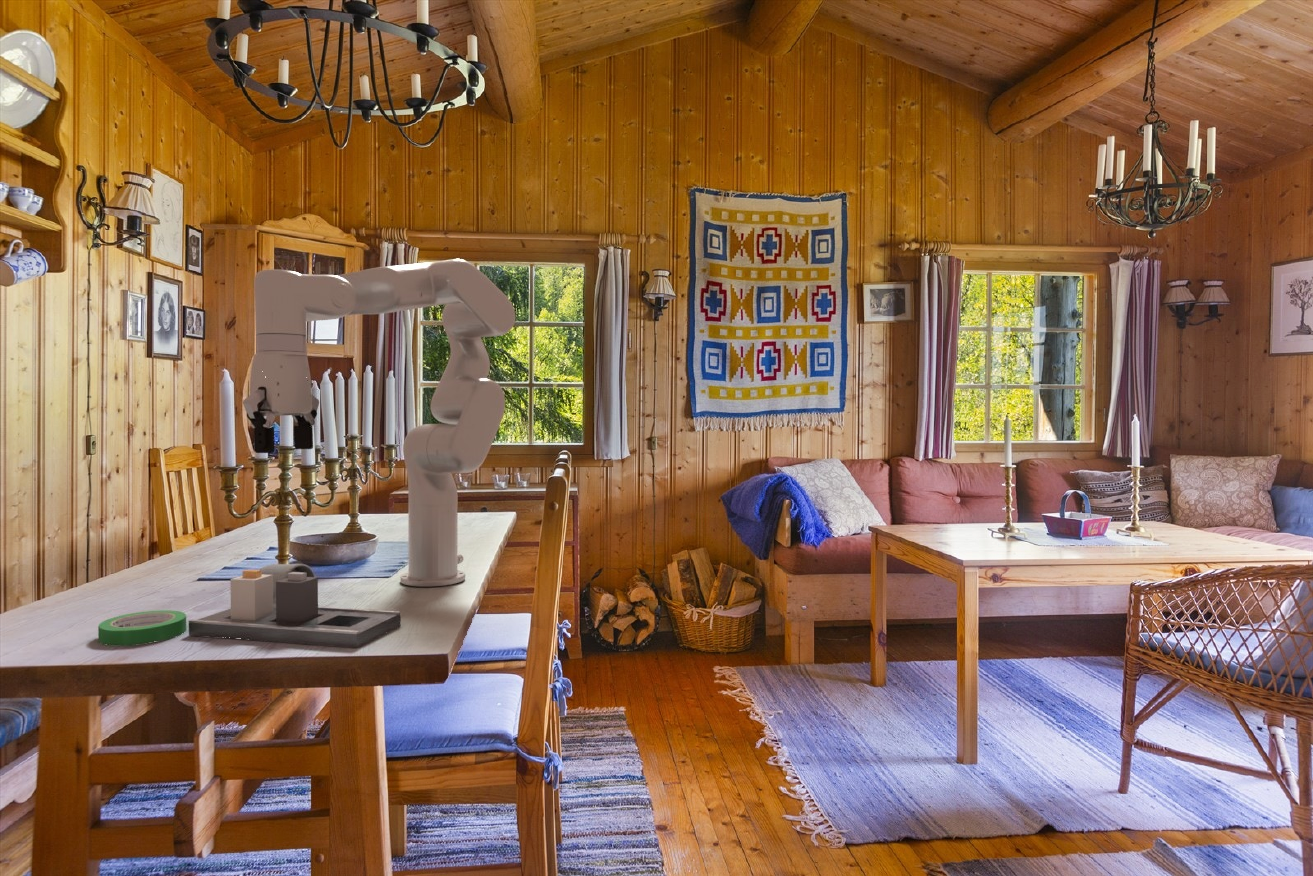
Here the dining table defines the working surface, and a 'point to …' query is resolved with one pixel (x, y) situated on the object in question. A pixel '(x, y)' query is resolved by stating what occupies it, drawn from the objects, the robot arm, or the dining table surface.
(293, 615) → the matte charcoal box
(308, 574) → the ceramic mug
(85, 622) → the dining table surface
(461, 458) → the robot arm
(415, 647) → the dining table surface
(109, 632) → the tape roll
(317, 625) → the panel
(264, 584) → the white block orange tab
